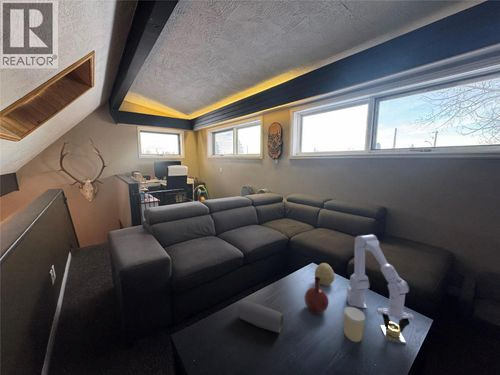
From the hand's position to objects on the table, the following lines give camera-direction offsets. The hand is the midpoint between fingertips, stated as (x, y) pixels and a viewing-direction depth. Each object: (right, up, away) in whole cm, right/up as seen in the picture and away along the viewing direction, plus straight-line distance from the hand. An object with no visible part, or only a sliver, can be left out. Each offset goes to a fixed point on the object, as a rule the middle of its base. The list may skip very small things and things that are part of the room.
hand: (393, 329), depth 98 cm
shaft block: (0, -3, 0) cm, 3 cm away
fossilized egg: (-19, +2, +40) cm, 45 cm away
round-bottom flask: (-33, -1, +16) cm, 37 cm away
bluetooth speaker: (-66, -3, +7) cm, 66 cm away
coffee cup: (-20, -4, +1) cm, 20 cm away
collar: (0, -2, 0) cm, 2 cm away
